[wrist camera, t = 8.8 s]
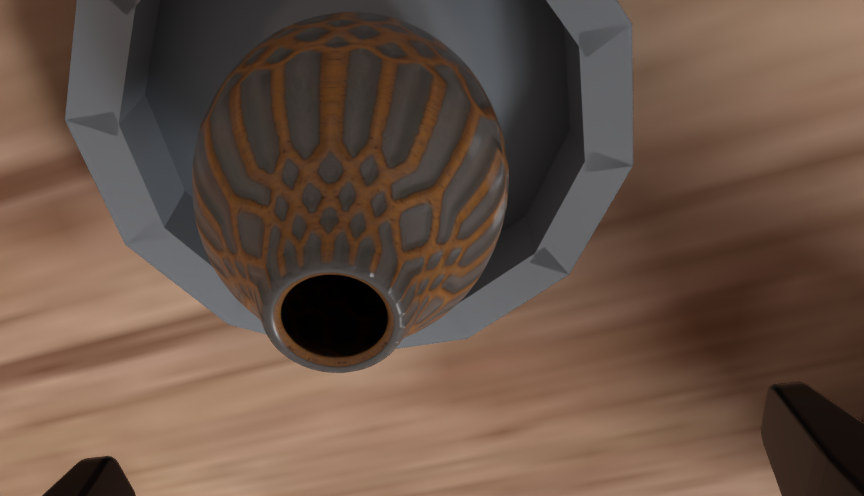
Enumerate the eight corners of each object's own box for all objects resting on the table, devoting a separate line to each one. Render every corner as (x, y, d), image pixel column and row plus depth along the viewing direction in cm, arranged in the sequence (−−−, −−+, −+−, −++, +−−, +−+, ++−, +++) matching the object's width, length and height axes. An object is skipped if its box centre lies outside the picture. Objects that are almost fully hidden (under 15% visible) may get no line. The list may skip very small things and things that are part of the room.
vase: (262, 232, 21) (182, 473, 14) (205, -8, 17) (50, 148, 10) (494, 215, 21) (539, 450, 13) (488, -30, 17) (546, 111, 10)
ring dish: (701, 133, 20) (735, 173, 18) (350, 364, 25) (345, 418, 22) (384, -349, 14) (380, -373, 12) (-1, 74, 19) (-54, 110, 17)
